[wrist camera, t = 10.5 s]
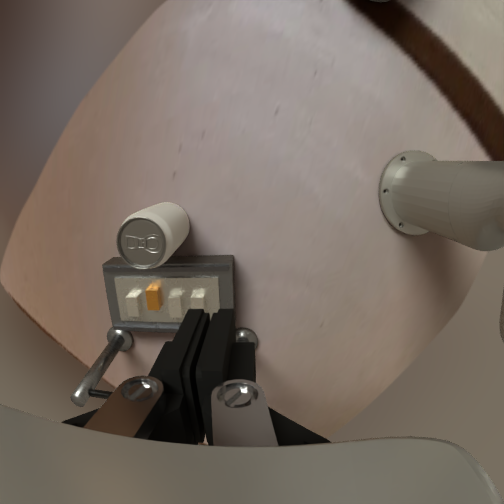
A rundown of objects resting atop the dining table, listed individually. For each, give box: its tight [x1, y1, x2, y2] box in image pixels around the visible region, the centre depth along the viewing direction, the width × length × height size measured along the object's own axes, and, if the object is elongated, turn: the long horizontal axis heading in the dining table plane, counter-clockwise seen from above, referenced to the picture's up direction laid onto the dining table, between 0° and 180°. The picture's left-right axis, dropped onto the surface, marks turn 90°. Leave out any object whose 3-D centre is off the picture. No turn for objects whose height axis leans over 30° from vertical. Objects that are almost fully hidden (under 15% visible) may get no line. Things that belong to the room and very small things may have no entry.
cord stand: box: [71, 327, 258, 407], centre depth 39 cm, size 24×4×17 cm, turn 91°
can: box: [117, 202, 190, 270], centre depth 38 cm, size 6×6×12 cm
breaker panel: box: [102, 255, 236, 333], centre depth 43 cm, size 18×10×6 cm, turn 91°
